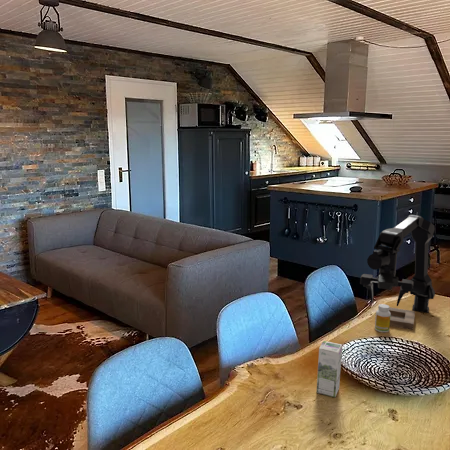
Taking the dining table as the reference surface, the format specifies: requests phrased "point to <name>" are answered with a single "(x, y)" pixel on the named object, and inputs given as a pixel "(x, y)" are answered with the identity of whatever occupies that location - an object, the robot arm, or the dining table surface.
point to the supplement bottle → (382, 318)
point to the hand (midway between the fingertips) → (384, 303)
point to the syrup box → (329, 368)
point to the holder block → (401, 318)
